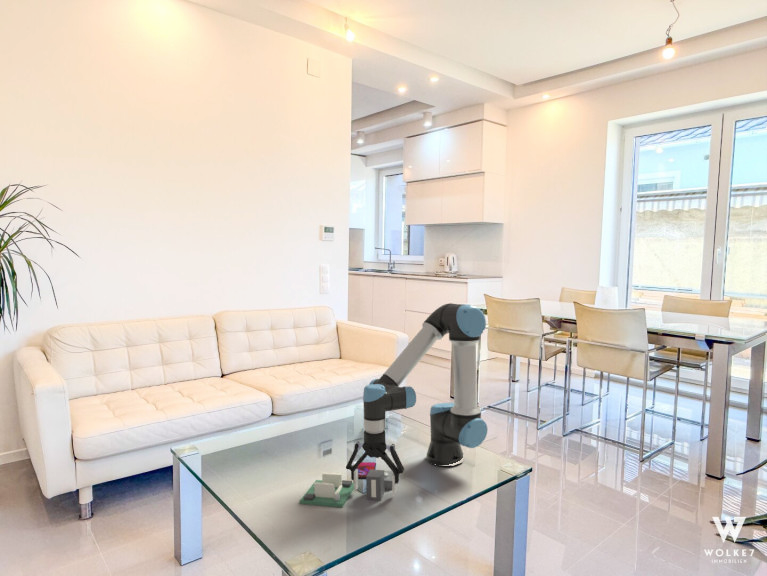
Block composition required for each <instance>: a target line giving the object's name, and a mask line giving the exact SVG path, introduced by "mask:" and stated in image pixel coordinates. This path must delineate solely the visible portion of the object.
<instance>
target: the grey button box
mask: <svg viewBox="0 0 767 576" xmlns="http://www.w3.org/2000/svg"><path fill="white" fill-rule="evenodd" d="M392 475H393V471H392V470H391V471H390V470H384V485H385V490H386V489H387V490H392Z"/></svg>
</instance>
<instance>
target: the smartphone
mask: <svg viewBox="0 0 767 576" xmlns="http://www.w3.org/2000/svg"><path fill="white" fill-rule="evenodd" d="M376 465H377V463H376V462H375V461H374V462H371V461H370V462H369V461H368V462H367V461H366V462H365V461H364V462H363V461H362V462H361V463H360V464H359V466H358V467H357V468H356V469H358V480H366V476H367V474H368V473H369V471H370V469H373V470H376Z"/></svg>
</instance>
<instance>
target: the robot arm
mask: <svg viewBox="0 0 767 576" xmlns="http://www.w3.org/2000/svg"><path fill="white" fill-rule="evenodd" d="M485 316H486V315H485V314H484V312H483V310H482V309H480V308H479V307H477V306H475V305H471V304H464V303H463V304H462V303H461V304H460V303H451V302H450V303H445V304H442V305H441V306H439V307H437V308H436V309H435V310H434V311H432V313H431V314H430V315H429V316H428V317H427V318H426V319H425V320H424V321H423V323H422V328H421V329H420V330H419V331H418V333H417V334H416V335H414V337H413V338H412V340H411V341H410V342H409V343H408V344H407V346H406V347H405V348H404V349H403V350H402V351H401V352H400V354H399V355H398V356H397V357H396V359H394V361H393V362H392V363H391V365H390V366H389V367H388V368H387V369H386V371H385V372H384V373H383V374H382V375H381V377H379V378H375V379H372V380H371V381H370V382H369V384H368V385H367V384H366V385H365V386H364V388H363V393H362V394H363V396H362V397H363V398H362V401H363V443H362V442H360V441H356V442H355V444H354V447H353V448H354V450H353V452H352V453H351V456H350V457H349V460H348V462H347V464H346V466H345V470H349V471H350V472H351V473H350V475H351V476H350V479H351V481H353V483H354V489H353V491H354V492H355V491H357V490H358V488H359V479H358V469H356V468H357V467H358V466H359V464H360V463H361V462H363V461H364V460H365V459H366V458H367V457H369V458H375V459H379V458H380V459H381V460H382V461H384V463H385V464H386V465H387V467H389V469H390V470H391V471H392V472H393V475H392V489H391V490H392V492H391V494H392V495H395V494H396V492H397V485H398V484H399V482H400V474H401V475H402V474H403V473H404V471H405V467H404V465H403V464H402V461H401V459H400V458H399V455H398V453H397V451H396V447H395V443H392V444H387V441H386V412H392V411H393V412H394V411H398V410H404V409H405V410H407V409H411V408H413V407H414V406H415V405H416V403H417V394H416V391H415V389H414V388H413V387H412V386H402V387H401V386H400V385H401V384H402V383H403V382H404V381H405V379H406V378H407V377H408V376H409V375H410V373H412V371H413V370H414V368H415V367H416V366H417V365H418V364H419V363H420V361H421V360H423V357H424V356H426V354H427V353H428V352H429V350H430V349H431V348H432V346H433V345H434V344H435V343H436V342H437V341H438V340H442V339H443V337H445V335H447V334H448V340H449V341H450V342H451V344H452V351H453V352H452V354H453V355H452V356H453V402H441V403H436V404H433V405H432V406H431V407H430V411H429V412H430V413H429V415H430V423H429V424H430V442H429V446H428V449H427V452H426V461H427V463H429V464H431V463H432V464H431V465H433V464H436V465H449V464H453V463H456V462H458V461H460V460H461V459H462V458H463V455H464V452H463V449H462V447H464V448H465V447H466V448H469V449H474V448H477V447H479V446H481V445H482V444H483V442H484V441H485V440H486V438H487V435H488V425H487V422H485V420H484V419H482V409H481V408H480V407H479V406H478V405H477V402H478V401H477V400H478V399H477V398H478V396H477V395H478V394H477V391H478V388H477V344H478V343H479V341H480V339H481V338H480V337H481V335H483V334H484V331H485V329H486V326H487V321H486V317H485ZM361 449H363V451H364V453H363V454H362V455H361V456H360V457H359V458H358V460H357V461H356V462H355V463H354V460H355V458H356V456H357V454H358V452H359V451H360V450H361ZM386 451H388V452H389V453H390V455H391V457H389V456H388V454H387V452H386ZM391 458H392V459H393V461H392V459H391ZM353 463H354V464H353ZM436 465H435V466H436Z"/></svg>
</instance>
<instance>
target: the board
mask: <svg viewBox="0 0 767 576" xmlns="http://www.w3.org/2000/svg"><path fill="white" fill-rule="evenodd" d="M321 474H322V476H321V480H320V479H315V481H314V482H313V483H312V484H311V486H310V487H309V488H308V490H306V492H305V493H304V494H303V496H301V498H300V500H299V504H300V505H308V506H309V505H310V506H321V507H335V508H344V506H345V504H346V503H347V501H348V499H349V498H350V496H351V495H352V492H353V491H354V482H353V480H347V479H343V474H342V473H334V472H322V473H321Z"/></svg>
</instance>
